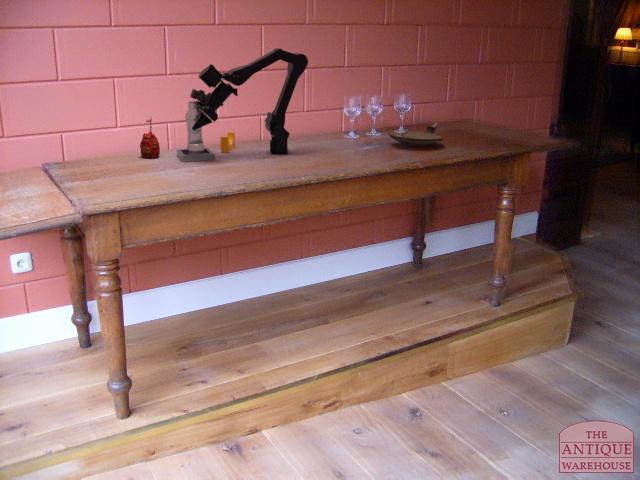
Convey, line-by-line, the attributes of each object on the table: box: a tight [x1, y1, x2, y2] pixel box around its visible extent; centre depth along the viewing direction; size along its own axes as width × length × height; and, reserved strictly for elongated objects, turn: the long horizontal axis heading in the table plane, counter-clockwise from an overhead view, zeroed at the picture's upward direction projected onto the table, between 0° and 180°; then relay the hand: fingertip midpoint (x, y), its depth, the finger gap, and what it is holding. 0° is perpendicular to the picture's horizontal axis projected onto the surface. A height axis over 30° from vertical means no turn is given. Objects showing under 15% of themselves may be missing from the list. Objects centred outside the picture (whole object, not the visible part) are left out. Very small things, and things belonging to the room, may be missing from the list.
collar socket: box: [176, 147, 216, 163], centre depth 249 cm, size 12×12×2 cm
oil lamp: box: [387, 122, 443, 148], centre depth 279 cm, size 22×30×8 cm
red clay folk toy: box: [139, 116, 161, 159], centre depth 248 cm, size 8×7×15 cm
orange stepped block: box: [219, 131, 236, 154], centre depth 264 cm, size 12×4×6 cm, turn 173°
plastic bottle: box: [184, 100, 205, 155], centre depth 246 cm, size 6×7×20 cm
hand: (190, 127), depth 246 cm, fingers open, 9 cm apart
